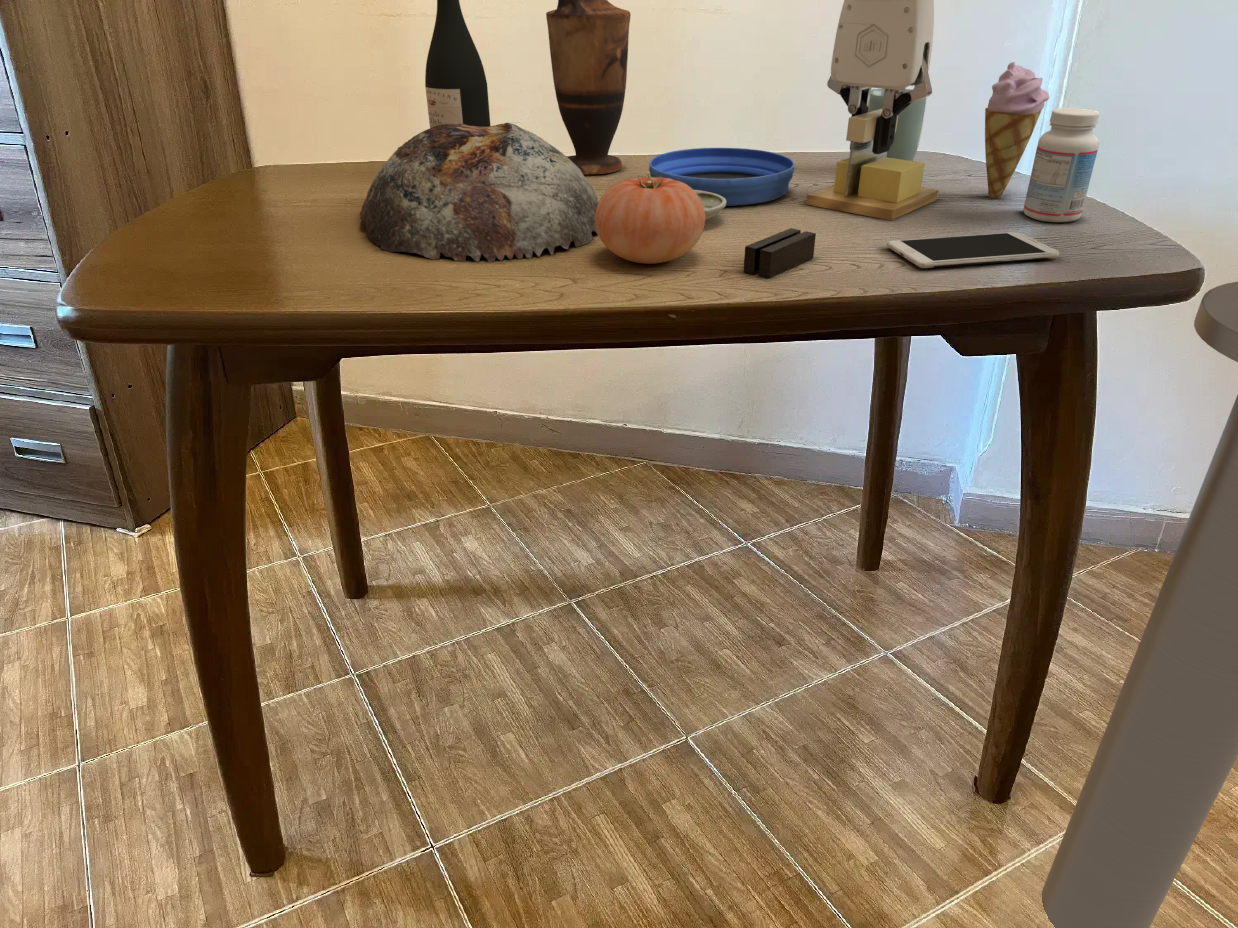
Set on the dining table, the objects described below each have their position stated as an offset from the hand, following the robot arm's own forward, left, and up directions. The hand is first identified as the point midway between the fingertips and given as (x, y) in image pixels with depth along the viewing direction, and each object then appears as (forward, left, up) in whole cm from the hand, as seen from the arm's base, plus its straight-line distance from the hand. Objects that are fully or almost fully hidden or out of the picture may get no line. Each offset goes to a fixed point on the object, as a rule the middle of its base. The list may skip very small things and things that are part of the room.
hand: (869, 149), depth 103 cm
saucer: (+11, +21, -6) cm, 25 cm away
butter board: (-1, 0, -6) cm, 6 cm away
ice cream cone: (-12, -12, -6) cm, 18 cm away
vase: (+37, +8, -6) cm, 39 cm away
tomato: (+5, +34, -6) cm, 35 cm away
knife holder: (-6, +28, -6) cm, 29 cm away
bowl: (+16, +7, -6) cm, 19 cm away
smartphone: (-18, +12, -6) cm, 23 cm away
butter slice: (+2, 0, -5) cm, 5 cm away
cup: (+5, -16, -6) cm, 18 cm away
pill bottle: (-20, -7, -6) cm, 22 cm away
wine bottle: (+48, +22, -6) cm, 53 cm away
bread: (+29, +35, -6) cm, 46 cm away
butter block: (-3, 0, -5) cm, 6 cm away
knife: (0, 0, -5) cm, 5 cm away
